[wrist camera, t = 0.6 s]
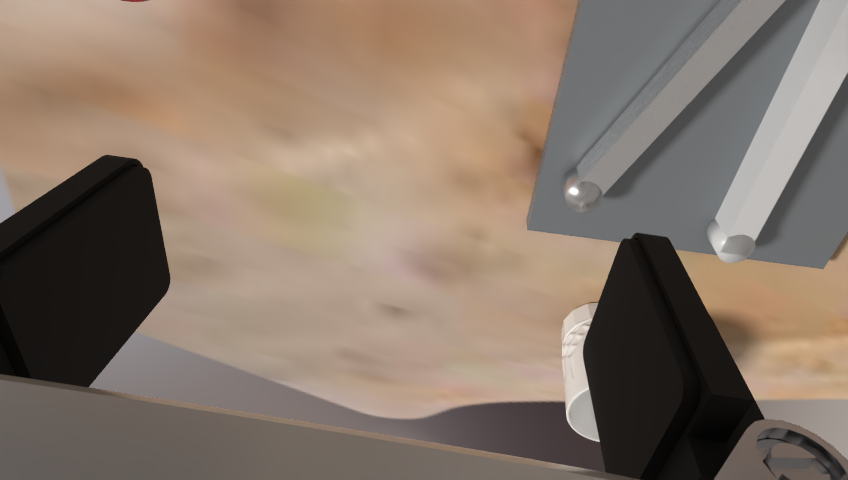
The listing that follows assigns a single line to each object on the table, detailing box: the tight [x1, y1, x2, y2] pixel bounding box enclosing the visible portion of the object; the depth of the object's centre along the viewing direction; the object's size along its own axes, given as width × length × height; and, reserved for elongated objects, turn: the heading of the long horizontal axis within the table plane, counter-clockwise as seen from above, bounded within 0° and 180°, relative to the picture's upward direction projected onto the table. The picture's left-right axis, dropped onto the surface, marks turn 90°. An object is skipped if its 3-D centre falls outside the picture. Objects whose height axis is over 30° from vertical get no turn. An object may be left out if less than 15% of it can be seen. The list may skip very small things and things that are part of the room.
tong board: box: [527, 0, 848, 269], centre depth 34 cm, size 32×24×4 cm
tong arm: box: [562, 0, 785, 213], centre depth 35 cm, size 21×3×2 cm, turn 150°
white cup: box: [561, 302, 600, 442], centre depth 47 cm, size 8×8×10 cm
